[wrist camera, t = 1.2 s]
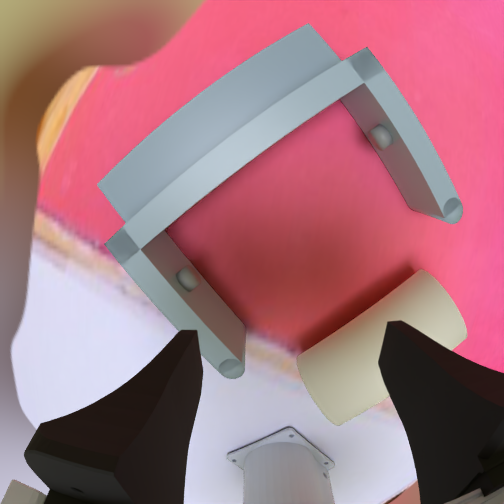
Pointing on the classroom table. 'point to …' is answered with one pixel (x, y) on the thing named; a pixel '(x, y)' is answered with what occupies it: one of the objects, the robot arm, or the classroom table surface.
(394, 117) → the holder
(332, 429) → the classroom table surface
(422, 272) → the cylinder
